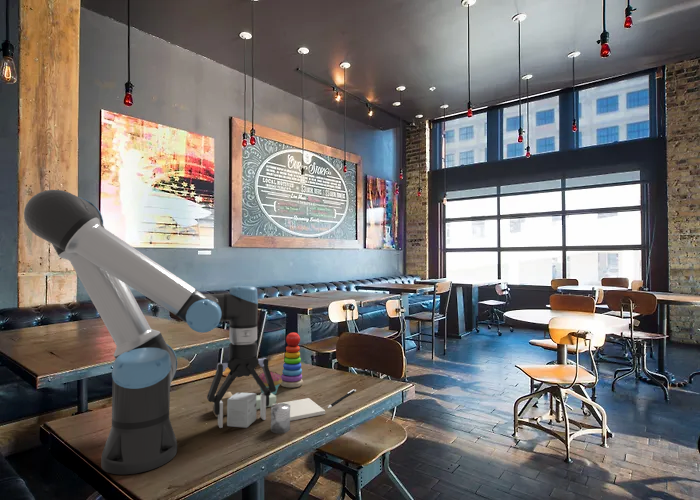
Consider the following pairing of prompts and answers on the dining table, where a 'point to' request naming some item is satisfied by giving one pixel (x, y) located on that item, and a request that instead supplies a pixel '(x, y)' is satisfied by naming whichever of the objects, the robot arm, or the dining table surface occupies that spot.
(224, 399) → the oak cube
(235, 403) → the skincare box
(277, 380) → the cupcake
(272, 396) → the sage block
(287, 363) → the stacking toy
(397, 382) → the dining table surface
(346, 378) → the dining table surface
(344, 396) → the pen
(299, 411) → the cream pad
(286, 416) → the steel cylinder
